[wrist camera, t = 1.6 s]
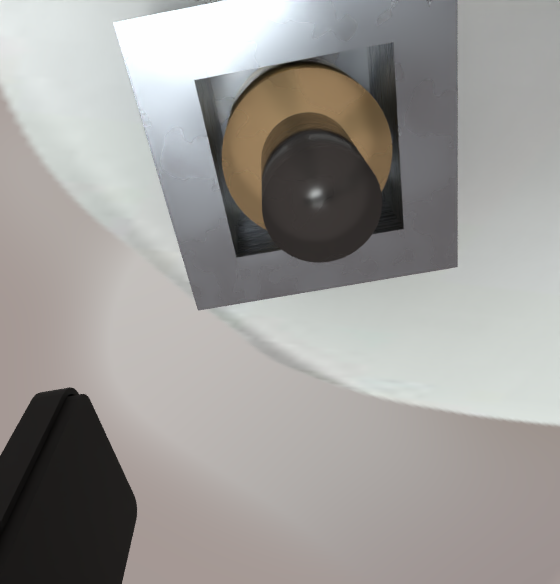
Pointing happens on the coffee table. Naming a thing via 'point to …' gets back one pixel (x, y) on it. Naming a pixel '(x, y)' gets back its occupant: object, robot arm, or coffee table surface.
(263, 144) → the stepped cylindrical shaft
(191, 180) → the block
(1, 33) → the coffee table surface
